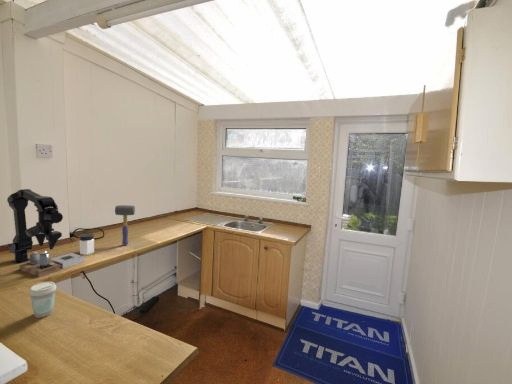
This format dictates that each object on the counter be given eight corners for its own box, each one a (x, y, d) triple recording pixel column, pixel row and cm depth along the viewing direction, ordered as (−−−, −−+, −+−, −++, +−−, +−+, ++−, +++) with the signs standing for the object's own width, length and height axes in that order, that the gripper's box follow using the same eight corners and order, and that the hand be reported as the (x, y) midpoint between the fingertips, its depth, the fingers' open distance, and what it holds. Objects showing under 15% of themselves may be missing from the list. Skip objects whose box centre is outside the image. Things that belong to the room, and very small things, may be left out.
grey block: (38, 272, 137) (37, 251, 136) (46, 269, 141) (46, 249, 140) (43, 273, 136) (42, 253, 134) (51, 271, 139) (50, 251, 138)
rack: (19, 269, 139) (18, 253, 138) (40, 263, 148) (40, 248, 147) (39, 277, 132) (38, 260, 131) (60, 270, 141) (59, 254, 140)
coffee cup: (26, 321, 97) (24, 292, 96) (35, 309, 105) (33, 282, 104) (53, 317, 101) (52, 289, 100) (60, 306, 109) (59, 279, 107)
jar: (97, 250, 173) (97, 233, 171) (90, 254, 165) (90, 237, 163) (83, 250, 172) (83, 233, 170) (76, 254, 164) (75, 236, 162)
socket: (49, 264, 148) (49, 259, 147) (71, 257, 159) (71, 252, 159) (62, 268, 143) (62, 263, 143) (84, 261, 154) (83, 256, 154)
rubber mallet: (114, 246, 181) (114, 206, 178) (117, 243, 188) (117, 204, 185) (133, 246, 185) (133, 206, 181) (135, 243, 192) (135, 204, 188)
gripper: (17, 220, 134) (18, 248, 135) (37, 226, 126) (38, 255, 128) (41, 216, 144) (42, 242, 146) (62, 221, 137) (62, 249, 139)
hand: (46, 247), depth 139 cm, fingers open, 9 cm apart
